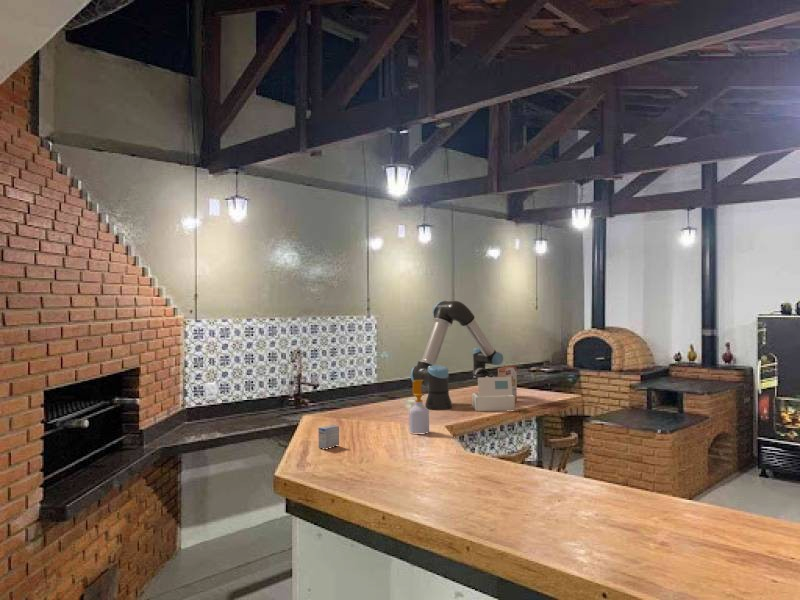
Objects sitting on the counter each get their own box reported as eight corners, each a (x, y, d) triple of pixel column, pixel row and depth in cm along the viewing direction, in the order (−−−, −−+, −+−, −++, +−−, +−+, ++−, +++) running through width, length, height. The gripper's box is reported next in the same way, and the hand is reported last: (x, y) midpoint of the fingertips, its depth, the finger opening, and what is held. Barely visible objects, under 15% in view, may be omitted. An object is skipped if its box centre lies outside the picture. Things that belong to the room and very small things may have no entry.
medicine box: (332, 444, 246) (331, 424, 246) (339, 446, 243) (339, 425, 243) (318, 448, 240) (318, 427, 240) (325, 450, 237) (325, 429, 237)
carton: (476, 411, 315) (476, 396, 315) (472, 406, 331) (471, 392, 332) (515, 410, 315) (515, 396, 315) (509, 405, 332) (508, 391, 332)
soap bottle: (412, 435, 261) (412, 381, 261) (407, 431, 270) (406, 378, 270) (431, 434, 263) (430, 380, 263) (425, 429, 272) (424, 377, 272)
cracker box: (506, 404, 335) (506, 368, 335) (497, 403, 338) (496, 368, 339) (517, 401, 346) (517, 366, 346) (508, 400, 350) (507, 365, 350)
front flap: (478, 396, 315) (478, 395, 314) (477, 377, 317) (477, 377, 317) (512, 395, 315) (512, 395, 314) (511, 377, 318) (511, 376, 317)
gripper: (492, 380, 355) (500, 386, 332) (471, 381, 355) (477, 386, 331) (492, 368, 355) (499, 373, 332) (471, 368, 355) (477, 373, 331)
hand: (488, 380), depth 332 cm, fingers closed
